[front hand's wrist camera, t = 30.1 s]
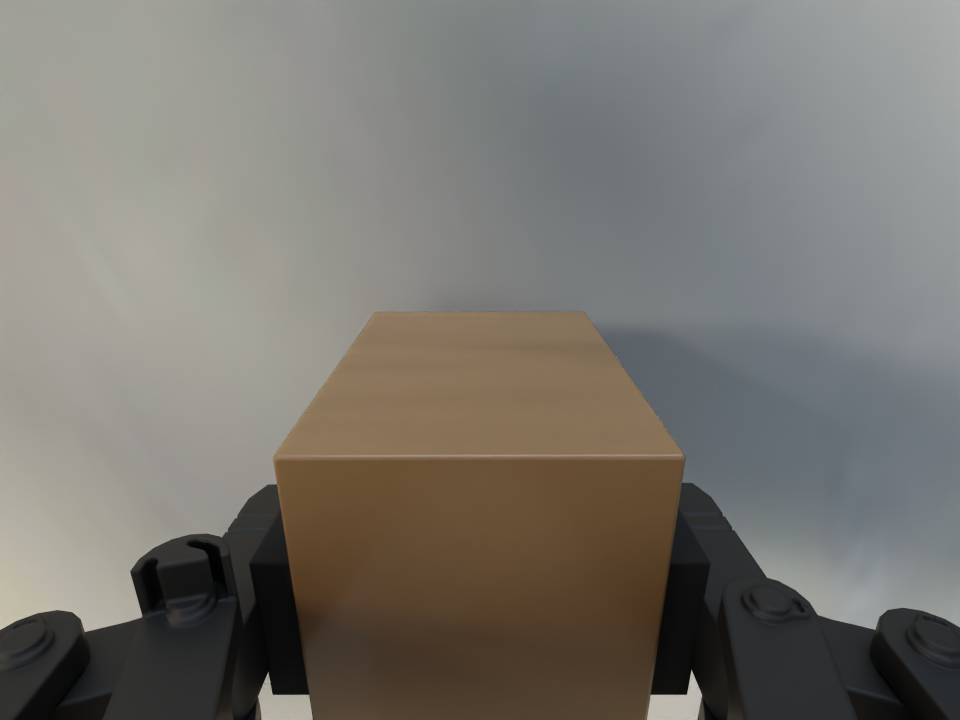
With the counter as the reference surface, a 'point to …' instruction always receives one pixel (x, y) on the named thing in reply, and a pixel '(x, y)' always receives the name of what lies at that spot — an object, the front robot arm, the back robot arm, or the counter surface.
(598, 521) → the brown block
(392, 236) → the counter surface
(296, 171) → the counter surface
